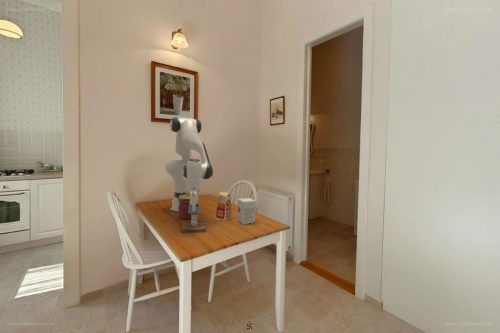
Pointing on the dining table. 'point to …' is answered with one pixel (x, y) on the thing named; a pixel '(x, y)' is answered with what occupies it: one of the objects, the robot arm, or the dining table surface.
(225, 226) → the dining table surface
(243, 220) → the supplement box
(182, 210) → the canister
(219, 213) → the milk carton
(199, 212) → the collar
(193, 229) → the post base
